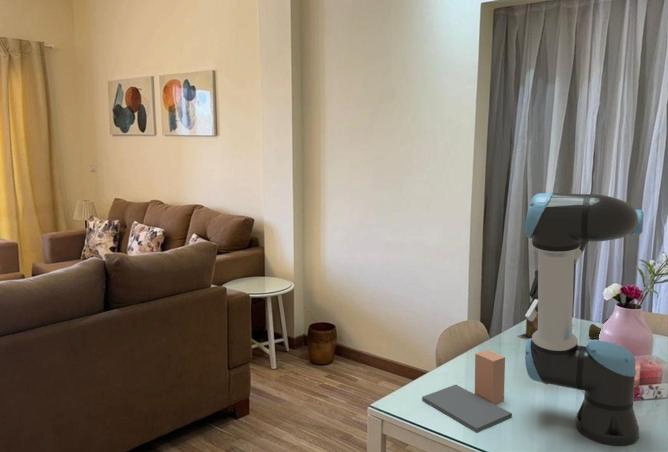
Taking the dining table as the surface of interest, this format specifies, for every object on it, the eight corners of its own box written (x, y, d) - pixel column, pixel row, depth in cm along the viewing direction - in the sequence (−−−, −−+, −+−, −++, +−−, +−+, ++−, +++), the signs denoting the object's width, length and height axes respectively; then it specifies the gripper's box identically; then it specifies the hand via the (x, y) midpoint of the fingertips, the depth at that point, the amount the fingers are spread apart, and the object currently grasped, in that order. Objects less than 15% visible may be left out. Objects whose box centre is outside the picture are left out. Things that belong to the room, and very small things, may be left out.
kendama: (624, 333, 216) (613, 348, 201) (598, 329, 222) (585, 343, 207) (625, 318, 215) (613, 332, 200) (599, 314, 221) (585, 327, 206)
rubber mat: (511, 417, 155) (511, 413, 154) (476, 432, 147) (476, 428, 147) (455, 388, 173) (455, 384, 173) (422, 400, 166) (422, 396, 165)
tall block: (503, 401, 164) (505, 357, 161) (492, 406, 161) (493, 361, 159) (486, 392, 170) (486, 349, 167) (474, 396, 167) (475, 353, 165)
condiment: (547, 337, 213) (548, 307, 211) (533, 342, 208) (534, 312, 206) (531, 332, 219) (532, 303, 217) (517, 336, 214) (518, 307, 212)
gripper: (587, 269, 173) (551, 330, 167) (551, 262, 184) (517, 319, 178) (577, 255, 169) (541, 317, 164) (542, 248, 180) (506, 306, 175)
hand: (528, 318), depth 171 cm, fingers closed
